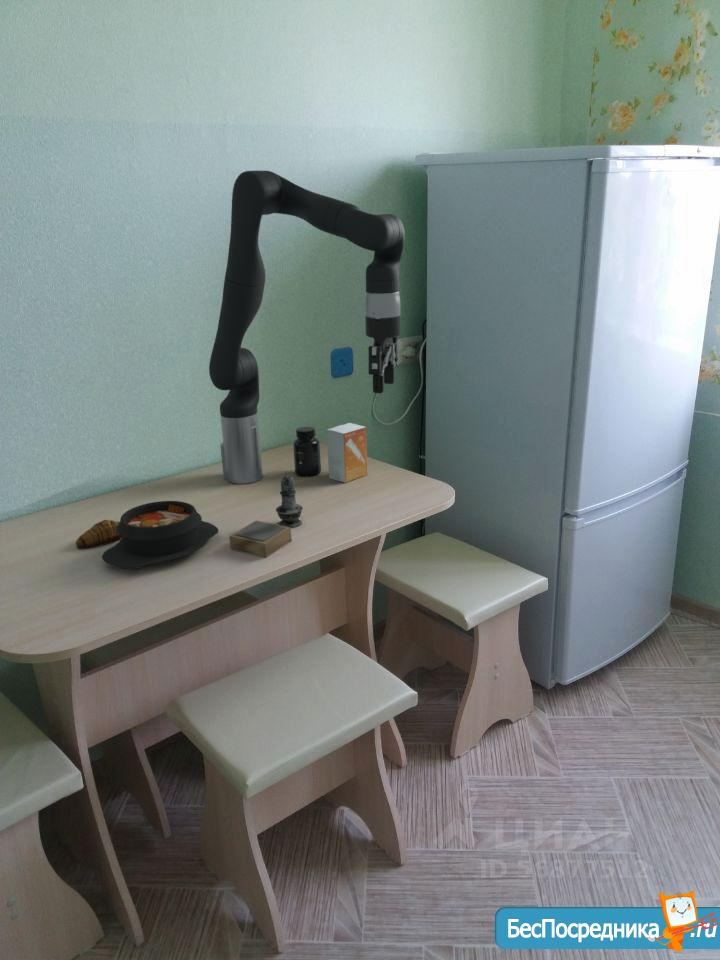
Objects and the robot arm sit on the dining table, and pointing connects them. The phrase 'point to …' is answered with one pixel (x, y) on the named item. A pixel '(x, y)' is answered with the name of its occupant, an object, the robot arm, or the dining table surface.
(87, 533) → the croissant
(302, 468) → the supplement bottle
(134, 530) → the casserole
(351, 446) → the small box
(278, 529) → the wooden picture frame
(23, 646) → the dining table surface
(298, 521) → the dark grey chess piece
